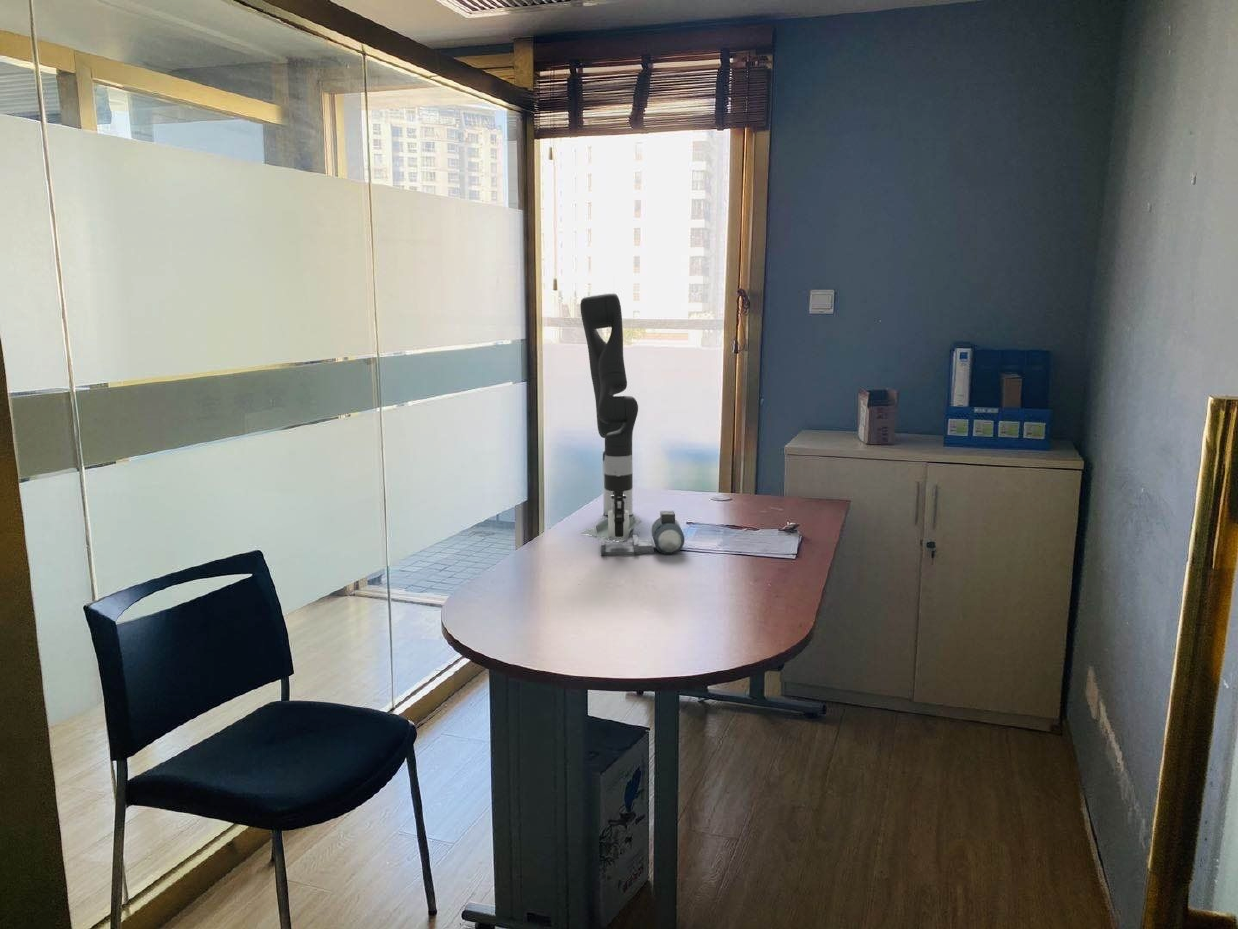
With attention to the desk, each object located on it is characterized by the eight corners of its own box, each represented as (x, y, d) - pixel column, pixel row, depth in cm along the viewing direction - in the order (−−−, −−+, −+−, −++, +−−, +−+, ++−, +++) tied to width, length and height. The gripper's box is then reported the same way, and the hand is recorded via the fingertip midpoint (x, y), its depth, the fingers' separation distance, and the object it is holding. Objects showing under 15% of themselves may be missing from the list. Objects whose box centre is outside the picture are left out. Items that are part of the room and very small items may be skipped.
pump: (608, 534, 241) (607, 503, 239) (628, 534, 241) (628, 502, 239) (608, 540, 235) (608, 507, 234) (629, 539, 235) (629, 507, 234)
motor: (600, 545, 244) (600, 509, 242) (680, 544, 244) (680, 508, 242) (601, 557, 233) (600, 519, 231) (684, 555, 233) (685, 517, 232)
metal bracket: (607, 508, 264) (647, 515, 255) (611, 525, 267) (651, 532, 257) (577, 530, 254) (618, 538, 245) (581, 548, 257) (622, 557, 248)
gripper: (603, 466, 242) (604, 527, 245) (604, 476, 228) (605, 540, 231) (631, 466, 242) (631, 526, 245) (633, 476, 228) (634, 540, 231)
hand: (618, 533), depth 238 cm, fingers closed on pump, 5 cm apart
